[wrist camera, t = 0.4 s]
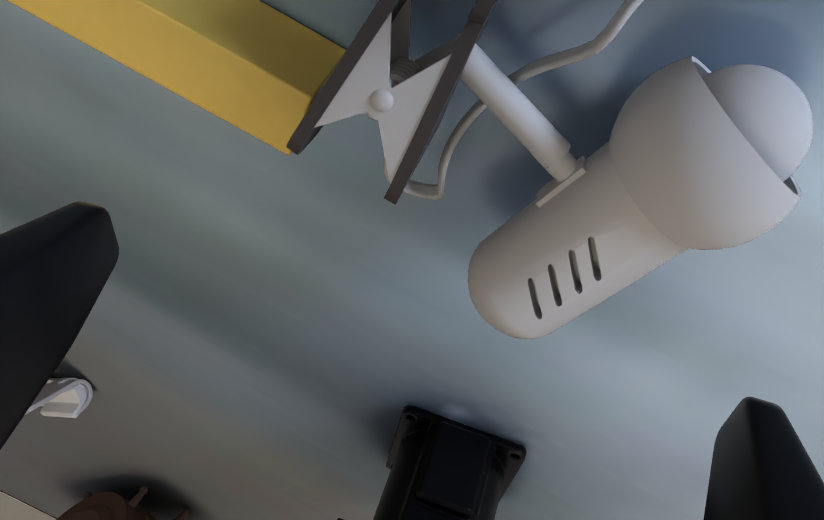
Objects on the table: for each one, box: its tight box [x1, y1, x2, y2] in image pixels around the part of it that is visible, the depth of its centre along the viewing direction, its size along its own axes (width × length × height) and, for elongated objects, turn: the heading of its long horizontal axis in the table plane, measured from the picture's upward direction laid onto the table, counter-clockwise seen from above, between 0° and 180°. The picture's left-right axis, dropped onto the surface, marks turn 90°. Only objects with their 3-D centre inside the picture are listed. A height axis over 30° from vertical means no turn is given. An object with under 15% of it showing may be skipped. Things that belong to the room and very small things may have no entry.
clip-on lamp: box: [286, 0, 814, 339], centre depth 18 cm, size 12×6×18 cm
